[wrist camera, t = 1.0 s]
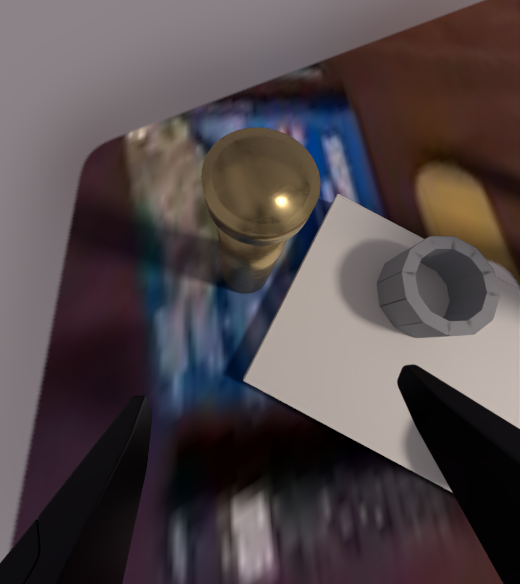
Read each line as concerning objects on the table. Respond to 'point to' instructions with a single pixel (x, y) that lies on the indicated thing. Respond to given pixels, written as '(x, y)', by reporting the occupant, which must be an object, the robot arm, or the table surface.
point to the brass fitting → (257, 200)
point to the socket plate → (389, 332)
